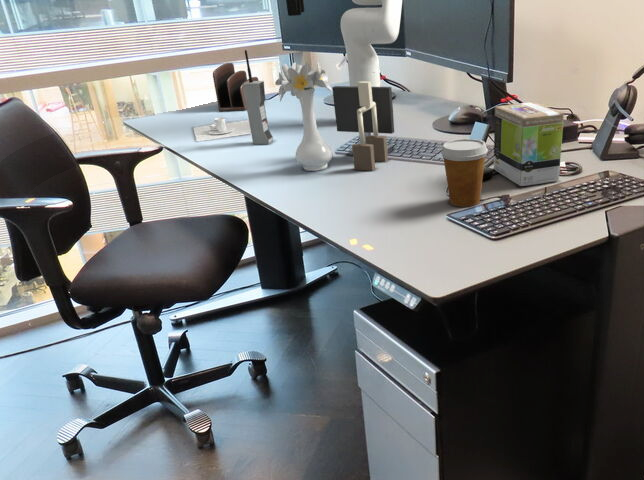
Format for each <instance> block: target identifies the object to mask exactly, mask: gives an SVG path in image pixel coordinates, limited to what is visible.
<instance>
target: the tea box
mask: <svg viewBox="0 0 644 480" xmlns="http://www.w3.org/2000/svg"><path fill="white" fill-rule="evenodd" d="M564 116H565V114H564V112H562V111H560V110H556V109H553V108H550V107H547V106H546V105H542V104H540V103H536V102H534V101H529V102H521V103H514V104H513V103H512V104H505V105H498V106H497V105H496V106H494V132H493V135H494V136H493V170H494V171H495V172H497V173H498V174H500V175H502V176H503V177H505V178H507V179H508V180H510V181H511V182H513V183H514V184H516V185H518V186H519V187H526V186H535V185H540V184H547V183H553V182H558V181H559V180H560V172H561V156H562V143H563V130H564Z"/></svg>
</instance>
